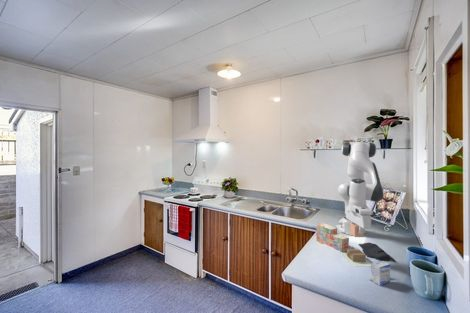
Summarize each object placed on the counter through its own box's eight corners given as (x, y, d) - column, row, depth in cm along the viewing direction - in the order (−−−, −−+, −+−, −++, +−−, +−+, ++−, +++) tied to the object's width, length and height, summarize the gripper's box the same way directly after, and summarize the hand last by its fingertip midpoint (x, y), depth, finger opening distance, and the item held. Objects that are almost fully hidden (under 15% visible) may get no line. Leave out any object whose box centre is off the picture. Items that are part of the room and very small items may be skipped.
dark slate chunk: (379, 247, 144) (379, 240, 144) (397, 264, 123) (398, 256, 123) (354, 245, 147) (354, 238, 147) (368, 261, 126) (368, 253, 125)
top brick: (350, 233, 128) (350, 223, 128) (358, 233, 128) (358, 223, 128) (354, 237, 123) (354, 226, 123) (363, 237, 123) (363, 226, 123)
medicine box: (379, 285, 102) (380, 267, 102) (370, 280, 106) (370, 263, 106) (390, 282, 106) (390, 264, 105) (380, 277, 110) (381, 260, 109)
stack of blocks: (348, 252, 136) (349, 232, 136) (341, 254, 134) (342, 234, 134) (322, 239, 156) (323, 222, 156) (315, 240, 154) (316, 223, 153)
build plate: (339, 253, 134) (339, 252, 134) (358, 254, 134) (358, 252, 134) (352, 267, 118) (352, 265, 118) (375, 268, 118) (375, 266, 118)
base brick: (346, 255, 130) (347, 249, 129) (358, 256, 129) (358, 249, 129) (353, 261, 123) (353, 254, 122) (365, 262, 122) (365, 254, 122)
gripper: (343, 203, 136) (342, 225, 136) (361, 212, 115) (361, 238, 115) (353, 203, 136) (352, 225, 136) (373, 212, 115) (373, 238, 115)
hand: (356, 231), depth 125 cm, fingers closed on top brick, 5 cm apart
